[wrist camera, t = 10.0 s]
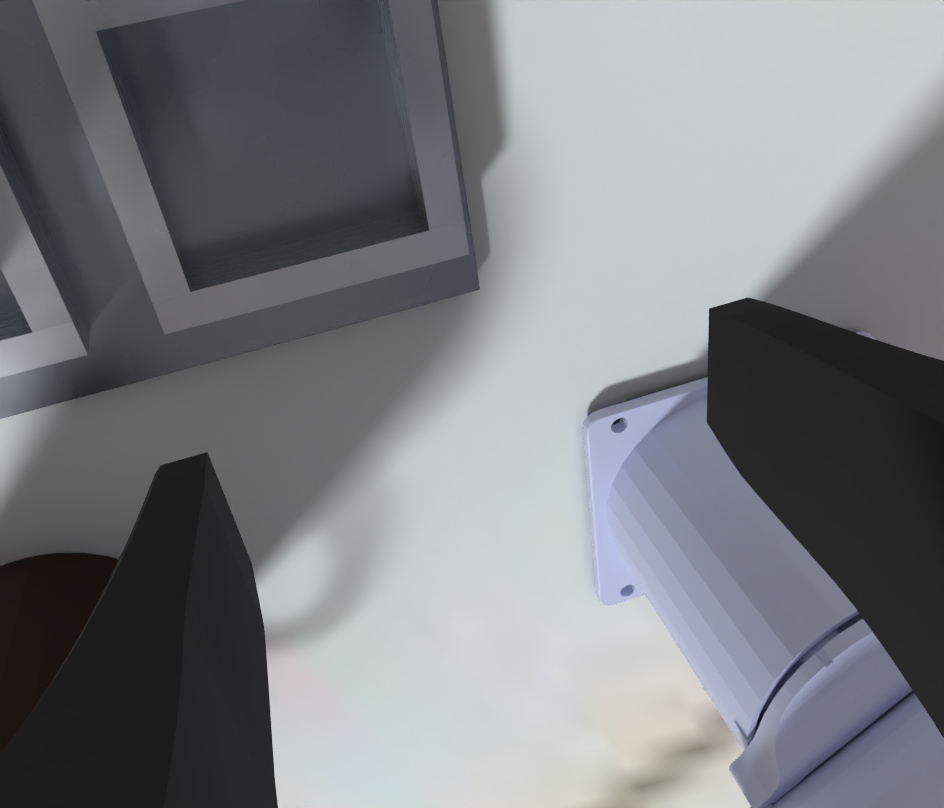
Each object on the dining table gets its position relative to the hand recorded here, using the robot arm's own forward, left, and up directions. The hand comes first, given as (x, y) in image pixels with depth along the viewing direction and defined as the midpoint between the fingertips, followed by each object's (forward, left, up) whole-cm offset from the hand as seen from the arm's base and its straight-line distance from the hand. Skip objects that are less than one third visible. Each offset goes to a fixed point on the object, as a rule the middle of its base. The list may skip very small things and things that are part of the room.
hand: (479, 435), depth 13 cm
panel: (+6, -2, -10) cm, 12 cm away
